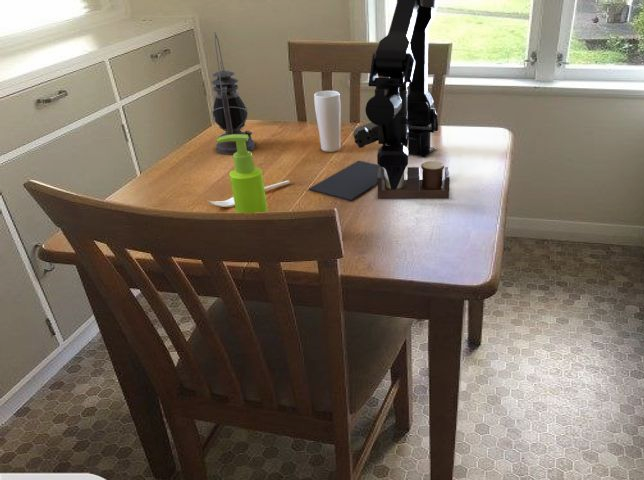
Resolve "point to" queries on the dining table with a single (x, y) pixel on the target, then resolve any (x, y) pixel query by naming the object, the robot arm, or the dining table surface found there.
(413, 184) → the pod rack
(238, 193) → the soap dispenser
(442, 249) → the dining table surface
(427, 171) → the cylinder
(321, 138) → the drinking glass
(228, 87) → the lantern
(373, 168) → the mat
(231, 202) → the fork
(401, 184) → the coffee pod
